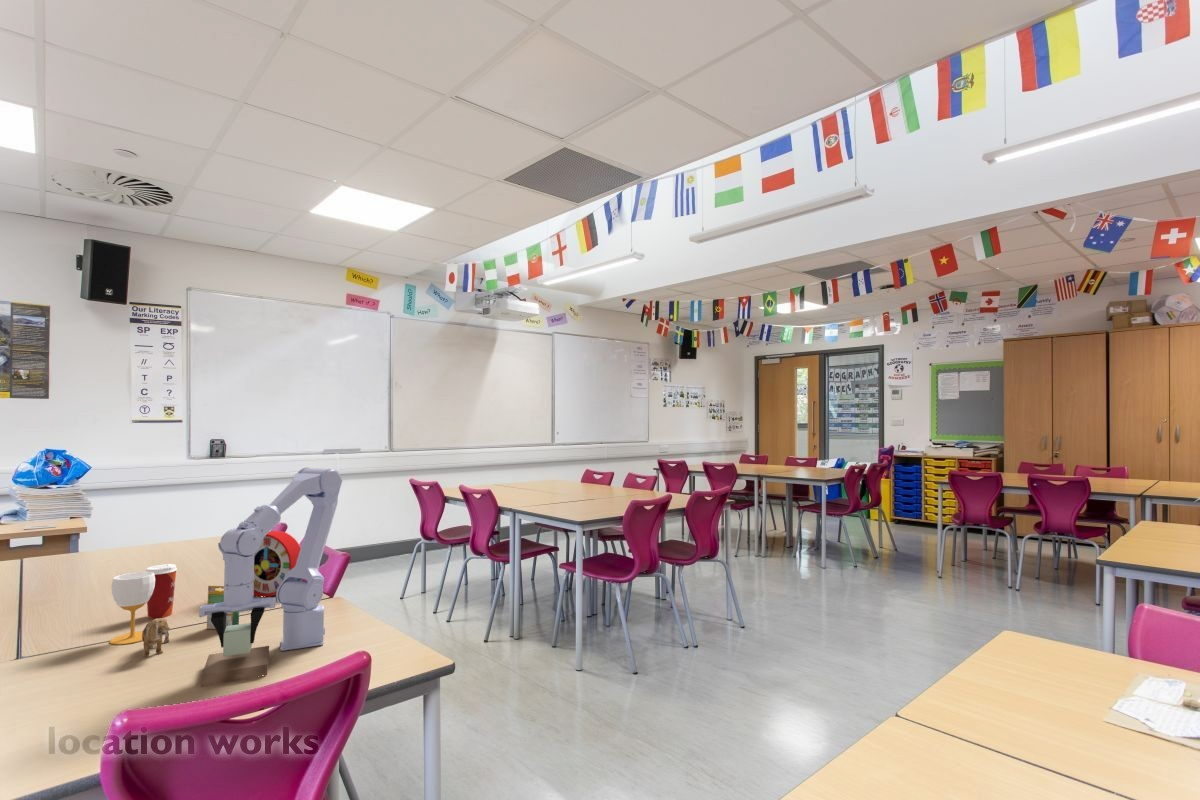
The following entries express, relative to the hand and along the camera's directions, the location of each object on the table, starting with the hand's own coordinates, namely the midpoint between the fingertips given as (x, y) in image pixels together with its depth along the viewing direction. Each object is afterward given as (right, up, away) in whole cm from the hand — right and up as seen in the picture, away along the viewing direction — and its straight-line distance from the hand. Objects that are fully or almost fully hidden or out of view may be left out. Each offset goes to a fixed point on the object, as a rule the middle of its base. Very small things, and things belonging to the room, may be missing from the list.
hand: (237, 643), depth 132 cm
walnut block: (0, -6, 0) cm, 6 cm away
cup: (-39, -7, +20) cm, 45 cm away
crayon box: (-21, -7, +27) cm, 35 cm away
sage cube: (0, -2, 0) cm, 2 cm away
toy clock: (-26, -8, +58) cm, 64 cm away
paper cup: (-46, -8, +38) cm, 60 cm away
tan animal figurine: (-27, -7, +12) cm, 30 cm away
